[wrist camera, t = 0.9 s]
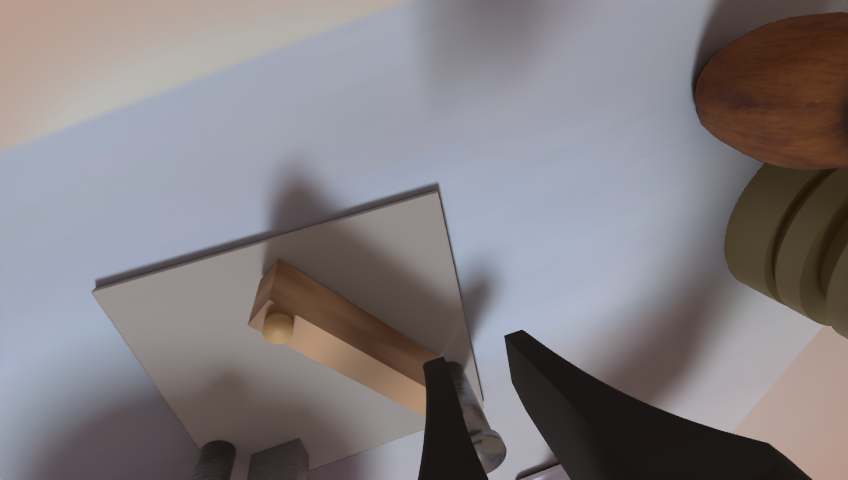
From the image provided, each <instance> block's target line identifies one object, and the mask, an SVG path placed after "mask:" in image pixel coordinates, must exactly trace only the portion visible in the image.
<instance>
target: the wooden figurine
mask: <svg viewBox="0 0 848 480" xmlns="http://www.w3.org/2000/svg"><path fill="white" fill-rule="evenodd" d="M695 105H696V113H697V115H698V117H699V120H700V122H701V124H702V125H703V126H704V127H705V128H706V129H707V130H708V131H709V132H710V133H711V134H712V135H714V136H715V137H716V138H717V139H719V140H720V141H722V142H724V143H726V144H727V145H729V146H731V147H733V148H734V149H736V150H738V151H740V152H742V153H743V154H745V155H748V156H750V157H752V158H754V159H757V160H759V161H761V162H764V163H768V164H772V165H776V166H780V167H786V168H794V169H802V170H813V169H831V168H842V167H848V13H844V12H836V13H825V14H815V15H806V16H798V17H790V18H787V19H783V20H780V21H776V22H773V23H769V24H766V25H764V26H762V27H759V28H757V29H755V30H753V31H751V32H749V33H747V34H745V35H743V36H742V37H740V38H738V39H737V40H735V41H733V42H732V43H730V44H728V45H727V46H725V47H724V48H722V49H721V50H719V51H718V52H717V53H716V54H715V55H714V56H713V57H712V58H711V59H710V60H709V61H708V62H707V64H706V65H705V67H704V68H703V70H702V72H701V74H700V76H699V78H698V80H697V85H696V91H695Z"/></svg>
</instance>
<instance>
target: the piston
mask: <svg viewBox="0 0 848 480" xmlns="http://www.w3.org/2000/svg"><path fill="white" fill-rule="evenodd" d="M725 258H726V262H727V265H728V268H729V270H730V271H731V273H732V274H733V276H734V277H735V278H736V279H737V280H739V281H740V282H742V283H743V284H745V285H747V286H749V287H751V288H753V289H755V290H757V291H759V292H760V293H762V294H764V295H766V296H768V297H770V298H772V299H774V300H776V301H777V302H779V303H781V304H783V305H786V306H788V307H789V308H791V309H793V310H794V311H796V312H798V313H800V314H802V315H804V316H806V317H808V318H809V319H811V320H813V321H815V322H817V323H819V324H822V325H827V326H832V328H833V329H834V330H835V331H836V332H837V333H838V334H840V335H842V336H844V337H845V338H847V339H848V167H842V168H831V169H813V170H802V169H794V168H786V167H780V166H776V165H772V164H768V163H766V164H765V165H764V166H763V167H762V168H761V169H760V170H759V171H758V172H757V174H756V175H755V176H754V177H753V178H752V180H751V181H750V182H749V184H748V185H747V187H746V188H745V190H744V191H743V193H742V194H741V196H740V198H739V199H738V201H737V203H736V205H735V207H734V210H733V212H732V214H731V217H730V220H729V223H728V226H727V230H726V236H725Z"/></svg>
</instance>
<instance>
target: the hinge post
mask: <svg viewBox="0 0 848 480" xmlns="http://www.w3.org/2000/svg"><path fill="white" fill-rule="evenodd" d="M446 363H447V365H448V367H449V369H450V371H451V374H452V378H453V381H454V385H455V388H456V392H457V395H458V399H459V402H460V405H461V410H462V413H463V417H464V420H465V424H466V427H467V430H468V432H469V435H470V438H471V440H472V442H473V445H474V447H475V450H476V452H477V454H478V457H479V459H480V461H481V464H482V466H483V468H484V470H485V473H486V474H488V473H490V472H492V471H493V470H495V469H496V468H497V467H499V466H500V465H501V463H502V462H503V461H504V459H505V457H506V452H507V451H506V447H505V444H504V442H503V440H502V438H501V436H500V435H499V433H497V432H496V431H494V430H491V428H490V426H489V424H488V422H487V419H486V417H485V415H484V413H483V411H482V408H481V406H480V404H479V402H478V400H477V397H476V395H475V393H474V391H473V389H472V387H471V384H470V382H469V380H468V378H467V376H466V373H465V371H464V369H463V367H462V365H461V364H459V363H458V362H454V361H449V362H446Z"/></svg>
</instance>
